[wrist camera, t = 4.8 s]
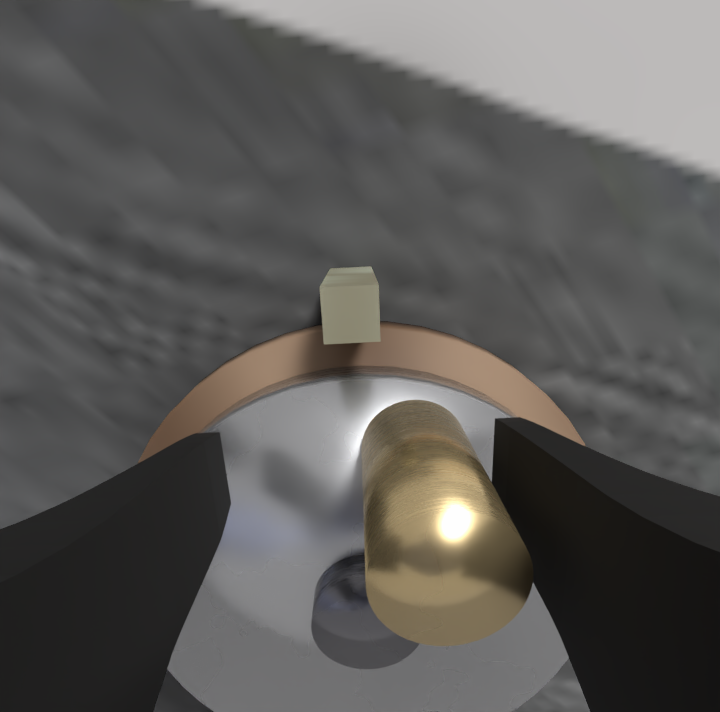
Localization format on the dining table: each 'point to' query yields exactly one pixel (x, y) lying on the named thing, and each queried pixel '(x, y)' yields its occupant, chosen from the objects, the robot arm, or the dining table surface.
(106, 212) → the dining table surface
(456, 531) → the handwheel
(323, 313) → the wheel base
